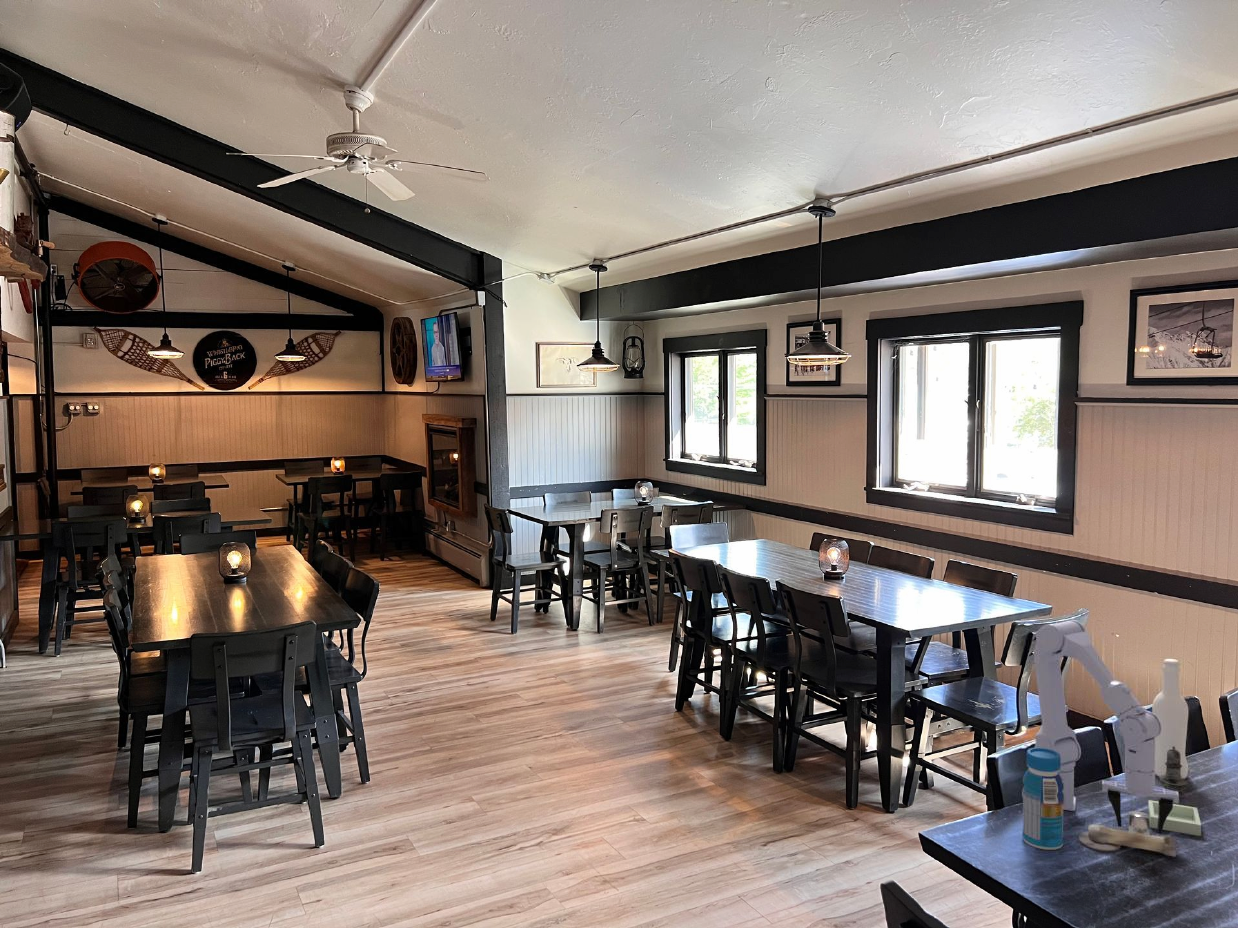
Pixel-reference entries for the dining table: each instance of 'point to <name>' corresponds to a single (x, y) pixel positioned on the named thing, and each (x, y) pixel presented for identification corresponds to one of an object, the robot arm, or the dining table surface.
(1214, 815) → the dining table surface
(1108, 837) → the beige flat bar
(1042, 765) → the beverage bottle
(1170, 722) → the bottle
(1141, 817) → the piston stop
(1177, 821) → the tray
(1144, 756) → the robot arm
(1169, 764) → the dark grey tiered tower
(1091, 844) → the crank base
